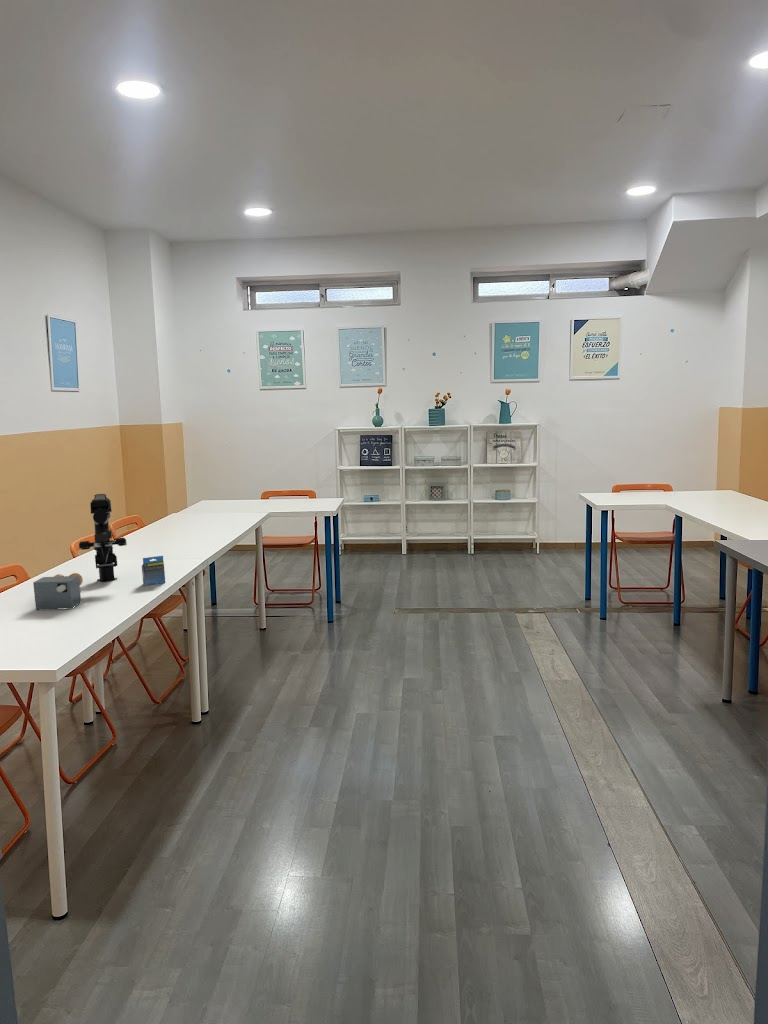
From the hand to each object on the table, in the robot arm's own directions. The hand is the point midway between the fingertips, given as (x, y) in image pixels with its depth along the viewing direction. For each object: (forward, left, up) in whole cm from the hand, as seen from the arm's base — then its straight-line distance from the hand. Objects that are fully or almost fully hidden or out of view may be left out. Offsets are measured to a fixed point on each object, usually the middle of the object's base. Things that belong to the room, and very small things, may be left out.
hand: (104, 563), depth 319 cm
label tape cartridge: (-11, -16, -11) cm, 23 cm away
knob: (-10, +24, -5) cm, 27 cm away
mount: (-6, +25, -11) cm, 28 cm away
